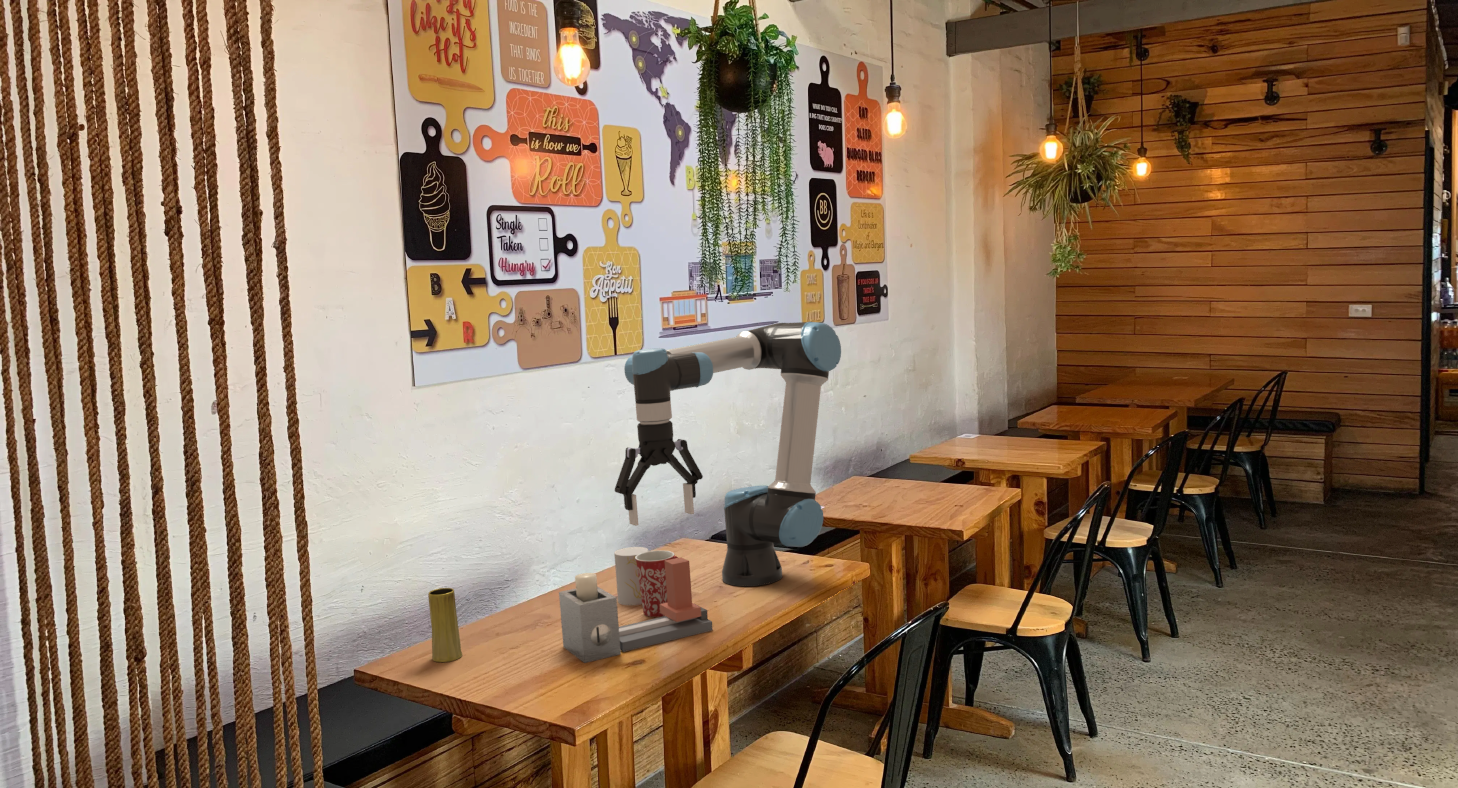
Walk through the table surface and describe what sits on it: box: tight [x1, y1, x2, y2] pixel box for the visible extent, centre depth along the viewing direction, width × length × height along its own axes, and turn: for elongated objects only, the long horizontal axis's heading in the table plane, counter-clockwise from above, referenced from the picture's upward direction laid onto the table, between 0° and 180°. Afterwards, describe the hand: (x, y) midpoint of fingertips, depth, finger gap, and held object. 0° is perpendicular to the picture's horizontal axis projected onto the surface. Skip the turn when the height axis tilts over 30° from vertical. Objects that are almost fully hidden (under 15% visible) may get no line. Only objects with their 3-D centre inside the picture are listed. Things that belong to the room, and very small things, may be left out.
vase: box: [427, 587, 463, 663], centre depth 223 cm, size 6×6×14 cm
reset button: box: [574, 572, 598, 602], centre depth 221 cm, size 4×4×5 cm
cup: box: [614, 546, 649, 606], centre depth 256 cm, size 8×8×12 cm
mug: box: [635, 549, 679, 618], centre depth 246 cm, size 13×9×14 cm
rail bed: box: [619, 603, 713, 653], centre depth 230 cm, size 21×10×4 cm, turn 119°
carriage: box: [660, 557, 702, 622], centre depth 232 cm, size 6×8×12 cm
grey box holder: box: [558, 586, 622, 664], centre depth 222 cm, size 8×13×12 cm, turn 29°
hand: (662, 518), depth 230 cm, fingers open, 13 cm apart
